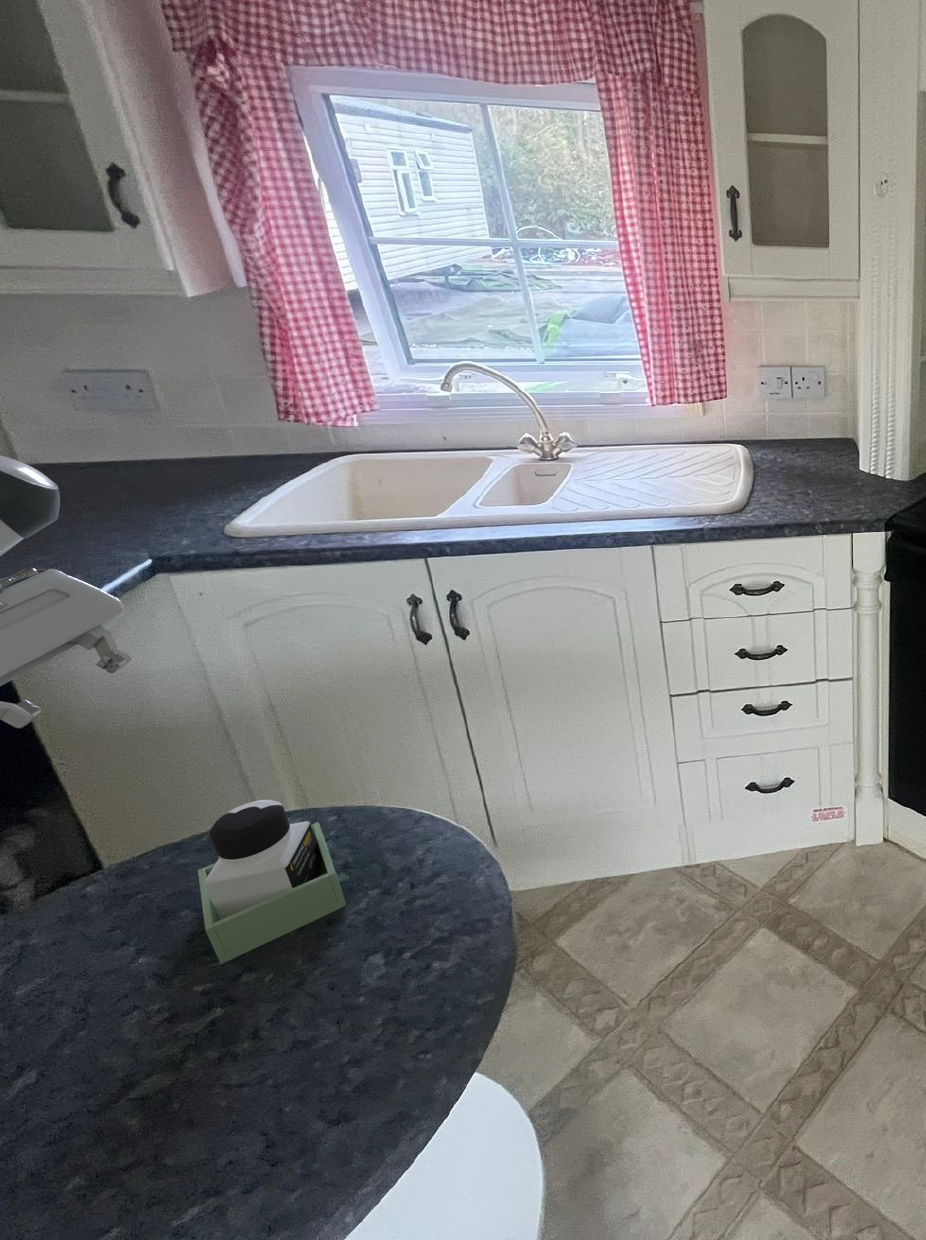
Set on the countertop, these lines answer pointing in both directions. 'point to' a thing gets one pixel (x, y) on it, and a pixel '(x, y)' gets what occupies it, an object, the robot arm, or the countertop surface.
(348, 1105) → the countertop surface
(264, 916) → the tub
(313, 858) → the medicine bottle
